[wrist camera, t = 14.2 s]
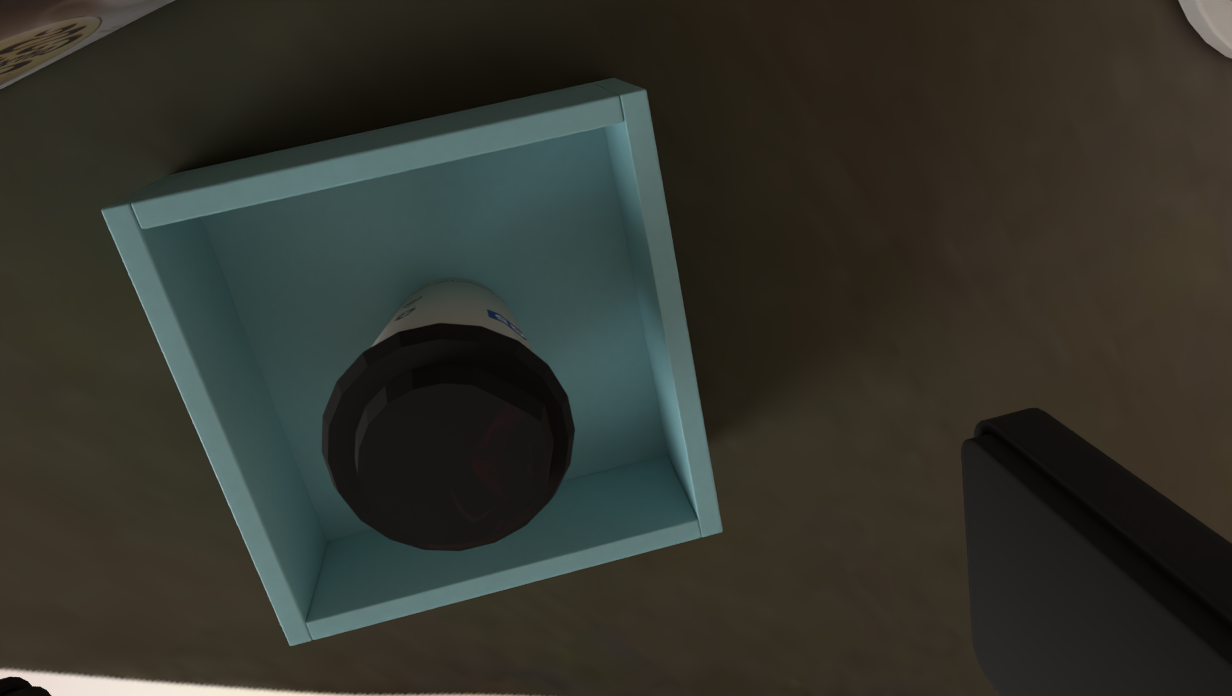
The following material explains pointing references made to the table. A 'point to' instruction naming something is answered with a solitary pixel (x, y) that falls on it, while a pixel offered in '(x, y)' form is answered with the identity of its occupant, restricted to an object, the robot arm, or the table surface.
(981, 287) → the table surface
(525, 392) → the coffee cup
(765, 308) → the table surface
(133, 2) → the coffee box
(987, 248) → the table surface
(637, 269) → the open box
